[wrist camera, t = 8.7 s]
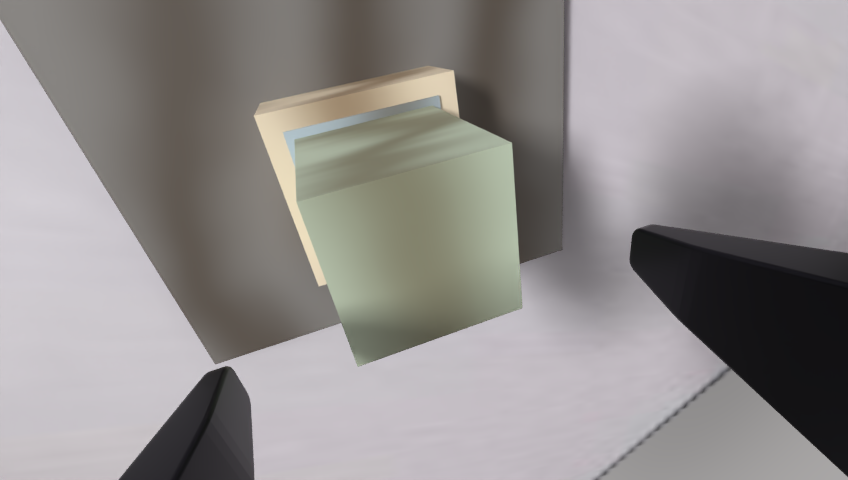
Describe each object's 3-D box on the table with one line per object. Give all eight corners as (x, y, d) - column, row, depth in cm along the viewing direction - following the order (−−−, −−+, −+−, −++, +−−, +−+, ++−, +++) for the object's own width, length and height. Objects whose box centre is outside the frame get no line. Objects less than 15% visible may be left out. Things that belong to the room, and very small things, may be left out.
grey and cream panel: (550, -85, 16) (621, -119, 13) (552, 242, 24) (596, 276, 21) (8, 2, 13) (-99, -12, 9) (218, 351, 21) (203, 414, 17)
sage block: (432, 105, 14) (511, 142, 9) (451, 225, 17) (522, 307, 12) (294, 139, 13) (296, 202, 8) (336, 260, 16) (358, 366, 11)
